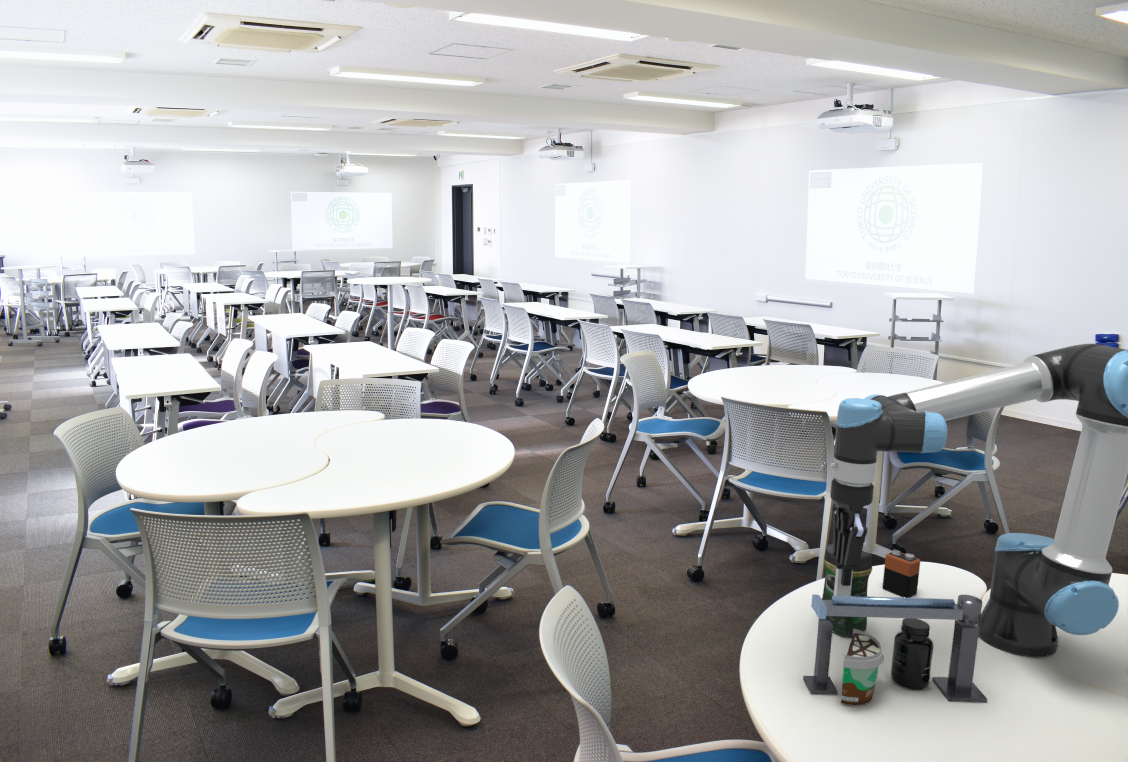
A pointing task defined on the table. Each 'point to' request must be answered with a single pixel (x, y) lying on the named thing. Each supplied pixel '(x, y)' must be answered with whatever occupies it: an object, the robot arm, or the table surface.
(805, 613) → the table surface
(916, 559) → the battery
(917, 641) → the supplement bottle
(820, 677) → the rest post
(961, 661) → the pivot post
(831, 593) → the coffee jar
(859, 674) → the food container
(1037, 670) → the table surface
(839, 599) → the cable arm
